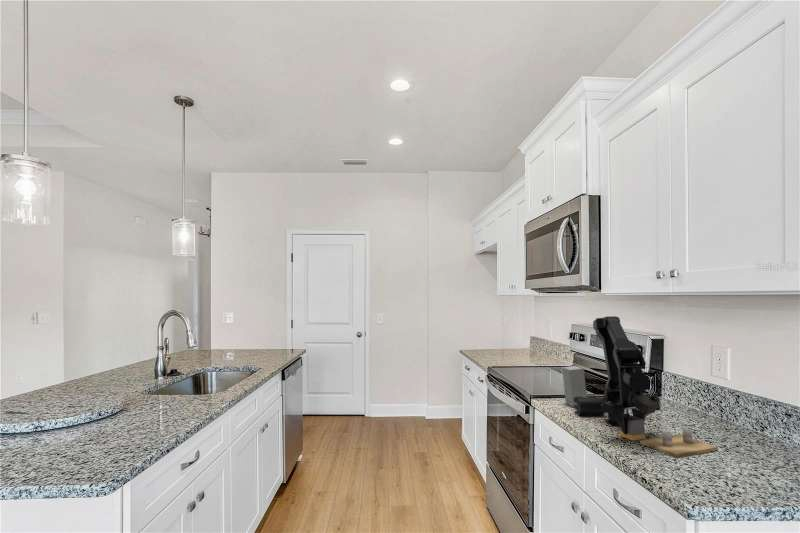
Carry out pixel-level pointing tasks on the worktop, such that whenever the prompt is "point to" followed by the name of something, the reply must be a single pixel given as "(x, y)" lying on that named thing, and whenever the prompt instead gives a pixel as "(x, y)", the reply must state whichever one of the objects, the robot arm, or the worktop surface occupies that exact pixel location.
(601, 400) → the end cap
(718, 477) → the worktop surface
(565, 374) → the skincare box
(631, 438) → the sleeve
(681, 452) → the pin board
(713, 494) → the worktop surface
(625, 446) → the worktop surface
